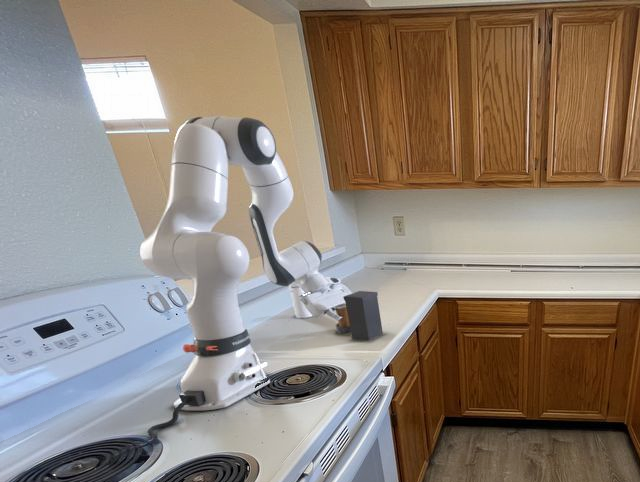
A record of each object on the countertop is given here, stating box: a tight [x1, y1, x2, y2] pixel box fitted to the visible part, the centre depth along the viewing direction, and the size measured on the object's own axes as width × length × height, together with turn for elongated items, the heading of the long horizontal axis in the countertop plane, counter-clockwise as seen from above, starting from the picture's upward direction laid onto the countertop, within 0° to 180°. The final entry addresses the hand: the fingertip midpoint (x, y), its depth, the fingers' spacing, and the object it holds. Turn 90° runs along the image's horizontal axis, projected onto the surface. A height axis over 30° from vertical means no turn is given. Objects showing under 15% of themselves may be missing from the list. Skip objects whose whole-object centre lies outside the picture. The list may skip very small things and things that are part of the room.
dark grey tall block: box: [344, 290, 384, 342], centre depth 142 cm, size 8×7×15 cm
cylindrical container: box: [288, 282, 313, 319], centre depth 169 cm, size 7×7×25 cm
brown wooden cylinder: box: [335, 304, 350, 327], centre depth 149 cm, size 5×5×9 cm
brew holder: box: [335, 322, 351, 335], centre depth 151 cm, size 7×7×3 cm
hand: (346, 317), depth 149 cm, fingers closed on brown wooden cylinder, 5 cm apart
